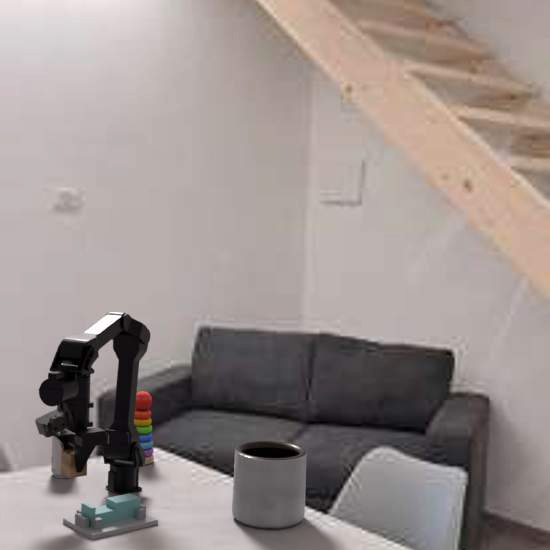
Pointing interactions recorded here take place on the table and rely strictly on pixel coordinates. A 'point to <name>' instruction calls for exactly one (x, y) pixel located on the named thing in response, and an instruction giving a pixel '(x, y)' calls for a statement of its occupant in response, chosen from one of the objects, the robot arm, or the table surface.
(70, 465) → the brown wooden cube
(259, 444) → the planter
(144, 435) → the stacking toy
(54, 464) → the energy drink can
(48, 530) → the table surface
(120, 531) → the jig
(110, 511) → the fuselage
